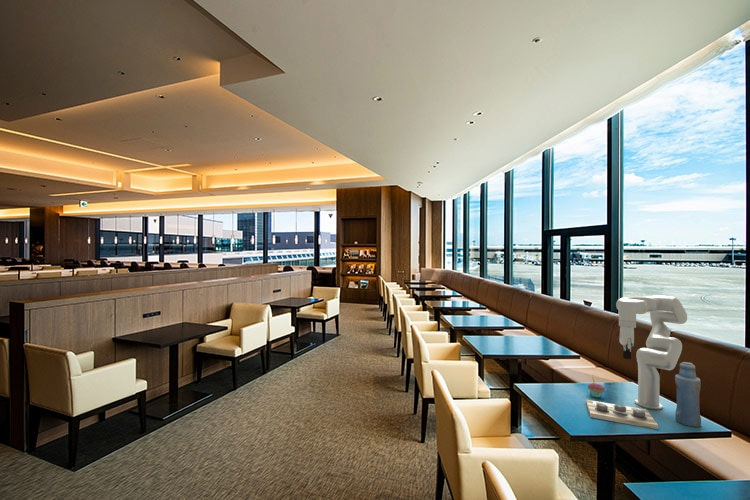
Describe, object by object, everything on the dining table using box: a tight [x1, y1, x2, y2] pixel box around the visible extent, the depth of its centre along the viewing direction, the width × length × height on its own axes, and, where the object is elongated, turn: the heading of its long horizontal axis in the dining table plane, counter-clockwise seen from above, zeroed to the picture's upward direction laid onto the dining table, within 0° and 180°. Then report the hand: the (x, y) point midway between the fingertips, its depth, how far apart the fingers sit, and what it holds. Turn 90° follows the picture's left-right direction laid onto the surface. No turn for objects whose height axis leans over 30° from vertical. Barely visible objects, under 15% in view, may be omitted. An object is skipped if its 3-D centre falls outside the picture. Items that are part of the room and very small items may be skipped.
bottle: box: [674, 361, 702, 428], centre depth 180 cm, size 10×10×30 cm
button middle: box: [614, 404, 626, 412], centre depth 184 cm, size 5×5×2 cm
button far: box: [596, 404, 608, 411], centre depth 187 cm, size 5×5×2 cm
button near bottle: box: [633, 410, 645, 418], centre depth 181 cm, size 5×5×2 cm
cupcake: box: [587, 374, 606, 398], centre depth 213 cm, size 9×8×12 cm
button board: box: [585, 399, 659, 430], centre depth 187 cm, size 20×28×2 cm
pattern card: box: [592, 400, 642, 411], centre depth 192 cm, size 5×22×1 cm, turn 65°
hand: (627, 358), depth 189 cm, fingers closed
